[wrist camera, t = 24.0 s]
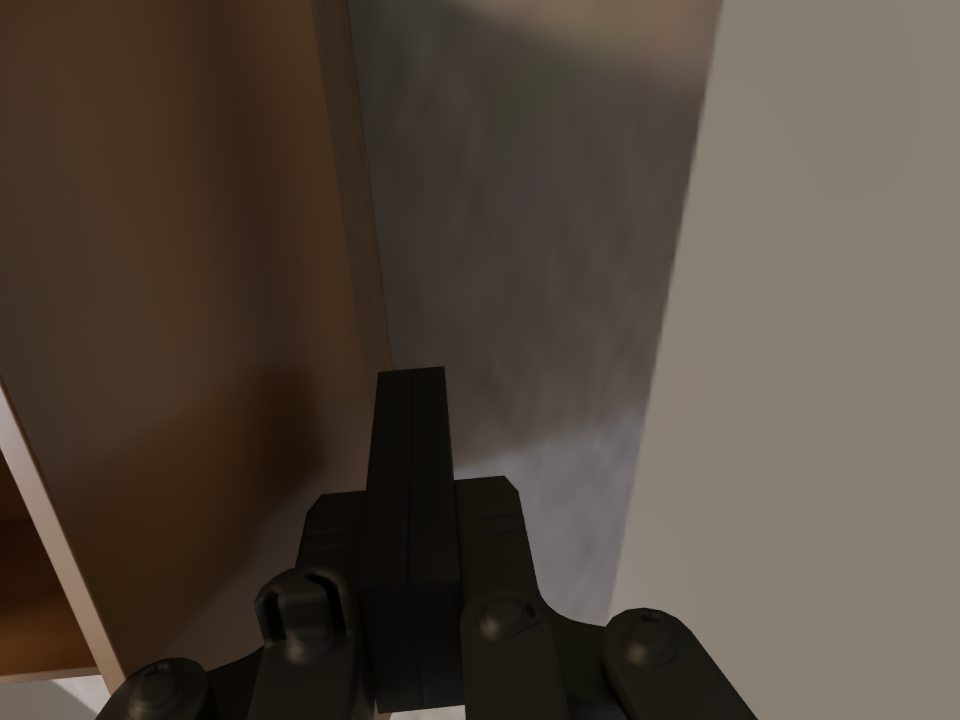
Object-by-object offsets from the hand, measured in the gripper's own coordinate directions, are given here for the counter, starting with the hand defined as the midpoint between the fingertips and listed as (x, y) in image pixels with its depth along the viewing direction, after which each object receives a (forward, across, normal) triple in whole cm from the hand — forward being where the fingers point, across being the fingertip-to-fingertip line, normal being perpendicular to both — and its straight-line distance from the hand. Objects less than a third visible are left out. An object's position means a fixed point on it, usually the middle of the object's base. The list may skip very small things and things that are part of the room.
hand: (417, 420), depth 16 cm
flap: (-3, -3, 0) cm, 4 cm away
